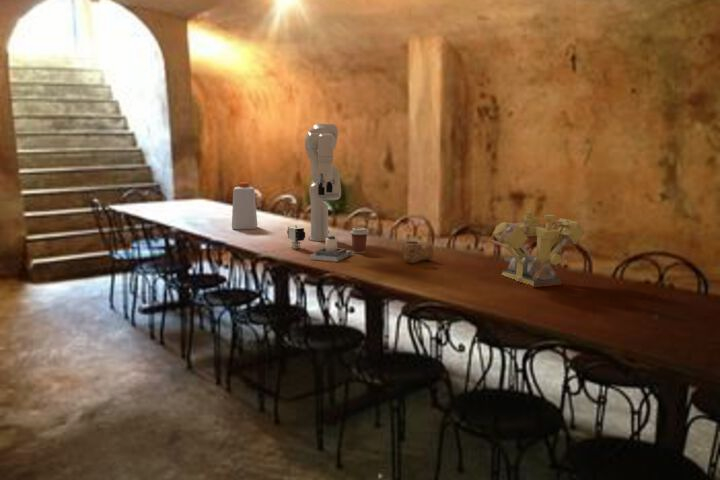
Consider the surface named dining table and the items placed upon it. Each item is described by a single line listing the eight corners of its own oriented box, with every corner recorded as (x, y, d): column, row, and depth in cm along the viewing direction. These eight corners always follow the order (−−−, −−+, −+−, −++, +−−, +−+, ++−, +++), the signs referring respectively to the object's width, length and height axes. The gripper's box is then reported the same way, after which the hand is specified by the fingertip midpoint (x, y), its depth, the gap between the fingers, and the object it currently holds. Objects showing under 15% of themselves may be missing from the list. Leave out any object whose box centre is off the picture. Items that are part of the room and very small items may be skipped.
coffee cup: (356, 249, 316) (357, 226, 314) (371, 251, 311) (371, 228, 309) (346, 252, 309) (346, 228, 306) (361, 254, 303) (361, 230, 301)
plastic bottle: (233, 226, 385) (232, 181, 380) (257, 226, 387) (257, 181, 382) (231, 230, 370) (229, 183, 365) (256, 230, 372) (255, 183, 367)
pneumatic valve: (297, 250, 311) (297, 227, 309) (287, 246, 321) (286, 224, 319) (306, 249, 314) (306, 226, 312) (296, 245, 324) (296, 223, 322)
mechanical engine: (521, 297, 230) (526, 217, 225) (467, 275, 263) (470, 205, 258) (600, 287, 246) (606, 213, 240) (539, 268, 279) (543, 202, 273)
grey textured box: (436, 261, 290) (437, 240, 288) (412, 266, 280) (413, 244, 278) (422, 258, 297) (422, 238, 295) (398, 262, 286) (399, 241, 284)
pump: (328, 251, 300) (328, 235, 299) (338, 252, 298) (339, 236, 297) (323, 253, 295) (323, 236, 294) (333, 254, 293) (334, 238, 292)
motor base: (325, 252, 308) (325, 245, 307) (351, 254, 303) (351, 247, 302) (309, 259, 291) (309, 252, 290) (337, 261, 286) (337, 254, 286)
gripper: (325, 157, 315) (325, 191, 319) (311, 160, 299) (311, 195, 303) (339, 158, 312) (338, 191, 316) (325, 161, 297) (325, 196, 300)
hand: (325, 193), depth 309 cm, fingers open, 9 cm apart
